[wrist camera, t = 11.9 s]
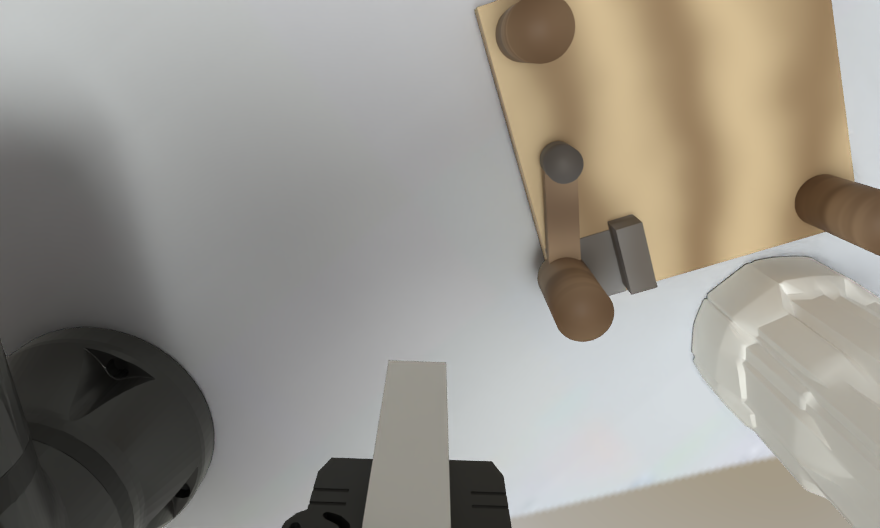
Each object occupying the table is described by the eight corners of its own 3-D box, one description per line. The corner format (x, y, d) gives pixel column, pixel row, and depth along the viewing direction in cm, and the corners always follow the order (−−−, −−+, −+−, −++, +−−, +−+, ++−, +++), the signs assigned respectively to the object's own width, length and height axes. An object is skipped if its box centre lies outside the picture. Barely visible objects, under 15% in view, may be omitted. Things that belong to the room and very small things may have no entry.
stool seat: (554, 294, 42) (584, 354, 34) (474, 10, 37) (485, -3, 29) (835, 212, 41) (939, 252, 32) (792, -97, 36) (902, -145, 27)
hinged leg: (588, 297, 39) (614, 338, 34) (538, 302, 39) (556, 344, 34) (583, 138, 37) (610, 153, 31) (529, 143, 37) (546, 160, 31)
